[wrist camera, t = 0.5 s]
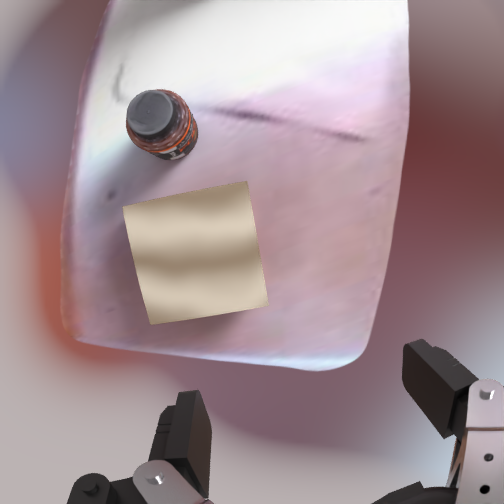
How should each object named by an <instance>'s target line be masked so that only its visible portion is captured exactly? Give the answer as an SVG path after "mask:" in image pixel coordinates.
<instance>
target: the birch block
mask: <svg viewBox="0 0 504 504" xmlns="http://www.w3.org/2000/svg"><path fill="white" fill-rule="evenodd" d="M122 208H123V214H124V219H125V224H126V228H127V233H128V238H129V243H130V247H131V251H132V256H133V260H134V264H135V268H136V273H137V277H138V281H139V285H140V288H141V292H142V296H143V300H144V303H145V307H146V311H147V314H148V318H149V321H150V325H154V324H161V323H168V322H175V321H182V320H188V319H195V318H201V317H207V316H213V315H219V314H225V313H231V312H237V311H243V310H248V309H254V308H259V307H265V306H269V304H268V298H267V292H266V286H265V280H264V275H263V269H262V263H261V257H260V251H259V245H258V240H257V234H256V228H255V222H254V217H253V211H252V205H251V200H250V194H249V188H248V182H247V181H244V182H239V183H233V184H228V185H222V186H217V187H212V188H206V189H201V190H196V191H191V192H186V193H181V194H177V195H172V196H167V197H162V198H158V199H153V200H149V201H144V202H140V203H136V204H131V205H127V206H123V207H122Z"/></svg>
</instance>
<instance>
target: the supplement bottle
mask: <svg viewBox="0 0 504 504" xmlns="http://www.w3.org/2000/svg"><path fill="white" fill-rule="evenodd" d="M126 128H127V132H128V135H129V137H130V138H131V140H132V141H133V142H134V144H136V145H137V146H138V147H140V148H141V149H143V150H145V151H147V152H149V153H151V154H153V155H155V156H157V157H159V158H162V159H166V160H176V159H179V158H182V157H184V156H185V155H187V154H188V153H189V152H190V151H191V150H192V149H193V148H194V146H195V144H196V142H197V138H198V128H197V124H196V121H195V119H194V118H193V114H191V112H190V110H189V108H188V106H187V105H186V103H185V101H184V100H183V99H182V98H181V97H180V96H179V95H177V94H176V93H174V92H172V91H169V90H163V89H157V90H148V91H144V92H142V93H140V94H138V95H137V96H136V97H135V98H134V99H133V100H132V101H131V102H130V104H129V106H128V109H127V118H126Z"/></svg>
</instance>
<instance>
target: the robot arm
mask: <svg viewBox="0 0 504 504" xmlns="http://www.w3.org/2000/svg"><path fill="white" fill-rule="evenodd" d="M402 381H403V384H404V387H405V389H406V390H407V392H408V393H409V394H410V396H411V397H412V398H413V399H414V401H415V402H416V403H417V405H418V406H419V407H420V409H421V410H422V411H423V412H424V414H425V415H426V416H427V418H428V419H429V420H430V422H431V423H432V424H433V425H434V427H435V428H436V429H437V431H438V432H439V433H440V435H441V436H442V437H443V439H445V438H447V437H449V436H451V435H453V434H454V435H455V436H456V437H457V438H456V441H455V446H454V451H453V457H452V462H451V467H450V472H449V476H448V480H447V483H446V487H429V488H423V486H422V484H421V482H420V481H419V482H416V483H414V484H412V485H409V486H407V487H404V488H401V489H399V490H396V491H394V492H391V493H389V494H387V495H386V496H384V497H382V498H381V499H379V500H377V501H375V502H374V503H372V504H504V386H503V385H501V383H499V382H498V381H496V380H493V379H482V380H479V379H478V378H477V377H476V376H475V375H474V374H472V373H471V372H470V371H469V370H468V369H467V368H466V367H465V366H463V365H462V364H461V363H459V361H457V359H455V358H454V357H453V356H452V355H451V354H450V353H449V352H447V351H446V350H444V349H441V348H439V347H436V346H435V347H432V346H430V345H429V344H428V343H427V342H426V341H425V340H423V339H419V340H417V341H414V342H410V343H408V344H405V345H404V348H403V367H402ZM211 440H212V429H211V423H210V419H209V416H208V414H207V411H206V408H205V405H204V402H203V399H202V396H201V394H200V392H199V390H193V391H185V392H179V393H178V397H177V401H176V405H173V406H167V408H166V409H165V410H164V411H163V412H162V413H161V415H160V418H159V422H158V426H157V429H156V434H155V437H154V440H153V444H152V448H151V452H150V455H149V460H148V462H146V463H144V464H142V465H141V466H139V467H138V468H137V469H136V471H135V472H134V474H133V477H130V478H127V479H122V480H117V481H113V482H109V480H108V479H107V478H106V477H105V476H103V475H101V474H98V473H91V474H87V475H84V476H82V477H80V478H79V479H78V480H77V481H76V482H75V483H74V485H73V487H72V490H71V493H70V496H69V499H68V502H67V504H214V503H213V502H212V501H210V500H209V499H207V500H205V499H206V498H208V495H209V475H210V455H211Z"/></svg>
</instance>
